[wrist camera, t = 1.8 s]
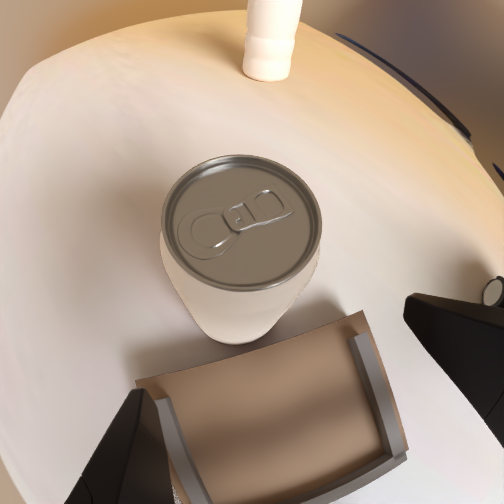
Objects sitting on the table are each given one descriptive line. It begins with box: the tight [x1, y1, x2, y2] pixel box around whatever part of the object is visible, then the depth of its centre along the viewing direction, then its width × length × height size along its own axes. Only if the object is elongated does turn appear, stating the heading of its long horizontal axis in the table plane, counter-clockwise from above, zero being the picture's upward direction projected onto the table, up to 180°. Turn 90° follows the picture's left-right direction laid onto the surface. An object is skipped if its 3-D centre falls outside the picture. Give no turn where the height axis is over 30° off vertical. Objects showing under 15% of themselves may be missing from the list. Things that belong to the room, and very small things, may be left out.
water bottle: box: [243, 0, 303, 82], centre depth 24 cm, size 7×7×25 cm
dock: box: [135, 310, 409, 504], centre depth 15 cm, size 12×16×4 cm
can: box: [160, 155, 322, 345], centre depth 15 cm, size 6×6×12 cm
